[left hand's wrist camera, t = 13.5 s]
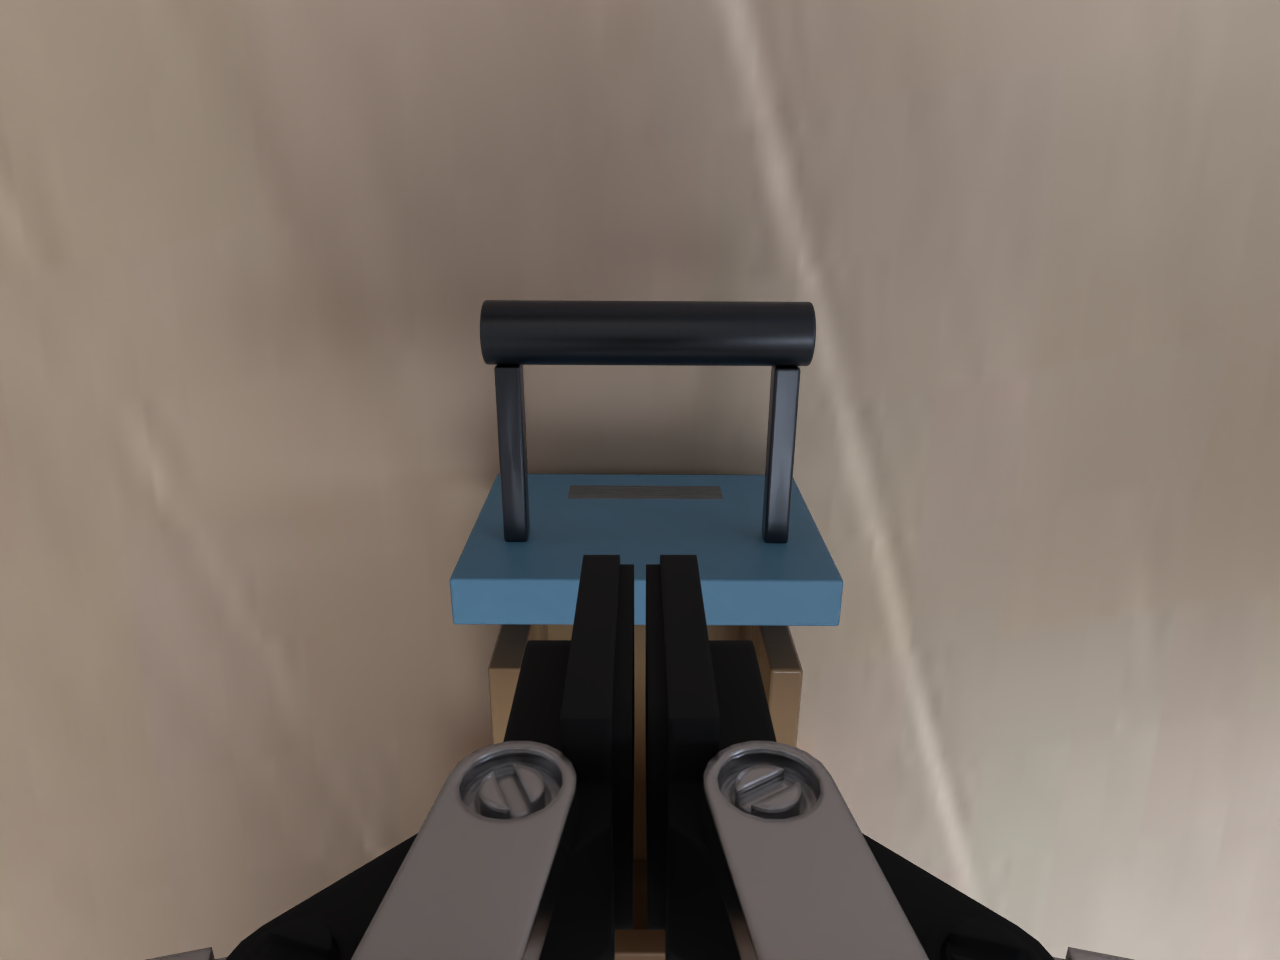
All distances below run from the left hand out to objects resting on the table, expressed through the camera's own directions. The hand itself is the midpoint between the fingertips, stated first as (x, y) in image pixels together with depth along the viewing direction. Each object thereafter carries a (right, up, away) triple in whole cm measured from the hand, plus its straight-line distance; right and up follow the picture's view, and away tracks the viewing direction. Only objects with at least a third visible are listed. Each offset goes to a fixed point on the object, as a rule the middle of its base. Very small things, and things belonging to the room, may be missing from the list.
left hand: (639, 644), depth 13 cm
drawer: (0, -2, +15) cm, 15 cm away
